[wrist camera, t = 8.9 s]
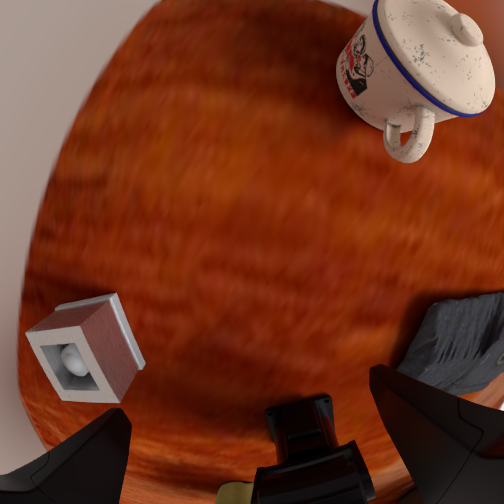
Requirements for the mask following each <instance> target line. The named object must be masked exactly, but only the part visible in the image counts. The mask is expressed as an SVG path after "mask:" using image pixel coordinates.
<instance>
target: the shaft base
mask: <svg viewBox="0 0 504 504" xmlns="http://www.w3.org/2000/svg"><path fill="white" fill-rule="evenodd" d="M107 299H111V301H112V304H113V306H114V309H115V312H116V314H117V317H118V319H119V322H120V324H121V326H122V329H123V331H124V334H125V336H126V338H127V340H128V343H129V345H130V347H131V349H132V352H133V354H134V356H135V358H136V360H137V362H138V364H139V366H140V368H139V370H142V369H143V367H144V366H145V364H146V363H145V361H144V358H143V356H142V354H141V352H140V350H139V347H138V345H137V343H136V341H135V338H134V336H133V334H132V331H131V329H130V326H129V324H128V322H127V319H126V316H125V314H124V311H123V309H122V306H121V303H120V301H119V298H118V295H117V293H113V294H108V295H104V296H99V297H94V298H90V299H85V300H80V301H75V302H71V303H66V304H61V305H59V306H58V307H56V308H55V311H56V310H57V309H62V308H67V307H72V306H77V305H82V304H87V303H92V302H97V301H102V300H107ZM61 357H62V361H63V363H64V365H65V366H66V367H67V369H68V370H69V371H71V372H72V373H73V374H75V375H77V376H85V375H86V374H87V373H88V372H89V370H88V368H87V366H86V364H85V362H84V360H83V358H82V356H81V354H80V352H79V350H78V348H77V346H76V344H75V343H70V344H69V345H68V346H67V347H66V348H65V349H64V350H63V351H62V354H61Z"/></svg>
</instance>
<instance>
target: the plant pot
mask: <svg viewBox="0 0 504 504" xmlns="http://www.w3.org/2000/svg"><path fill="white" fill-rule="evenodd" d="M253 485H254V483H249V484H246V483H242V482H230V483H226V484H224V485H222V486H221V487H220V489H219V491H218V494H217V498H216V502H215V504H251V503H250V502H251V496H252V491H253Z"/></svg>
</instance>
